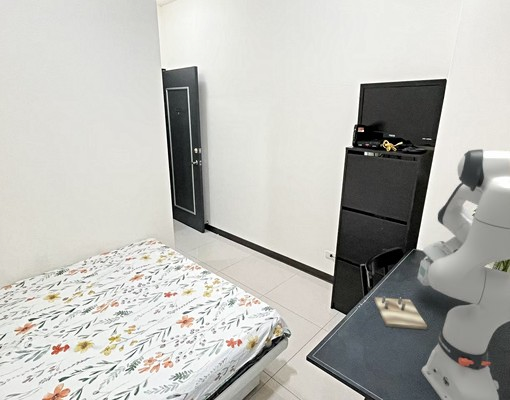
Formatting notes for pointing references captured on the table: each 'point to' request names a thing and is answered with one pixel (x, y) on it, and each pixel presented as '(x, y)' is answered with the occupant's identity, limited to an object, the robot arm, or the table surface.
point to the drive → (424, 272)
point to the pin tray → (399, 313)
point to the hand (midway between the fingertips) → (425, 269)
